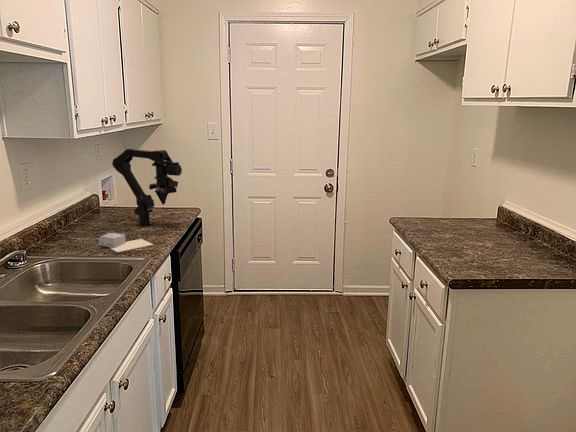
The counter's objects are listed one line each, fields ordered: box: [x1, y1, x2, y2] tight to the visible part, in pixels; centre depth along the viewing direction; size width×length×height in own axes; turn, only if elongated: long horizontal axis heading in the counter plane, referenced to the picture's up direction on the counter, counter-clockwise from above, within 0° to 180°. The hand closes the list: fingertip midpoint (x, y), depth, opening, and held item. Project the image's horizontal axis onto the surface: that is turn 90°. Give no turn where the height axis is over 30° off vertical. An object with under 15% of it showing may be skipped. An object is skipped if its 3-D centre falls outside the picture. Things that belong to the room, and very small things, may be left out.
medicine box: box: [98, 232, 127, 248], centre depth 213 cm, size 8×4×9 cm
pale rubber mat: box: [108, 238, 154, 253], centre depth 213 cm, size 12×17×1 cm
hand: (163, 204), depth 244 cm, fingers closed
